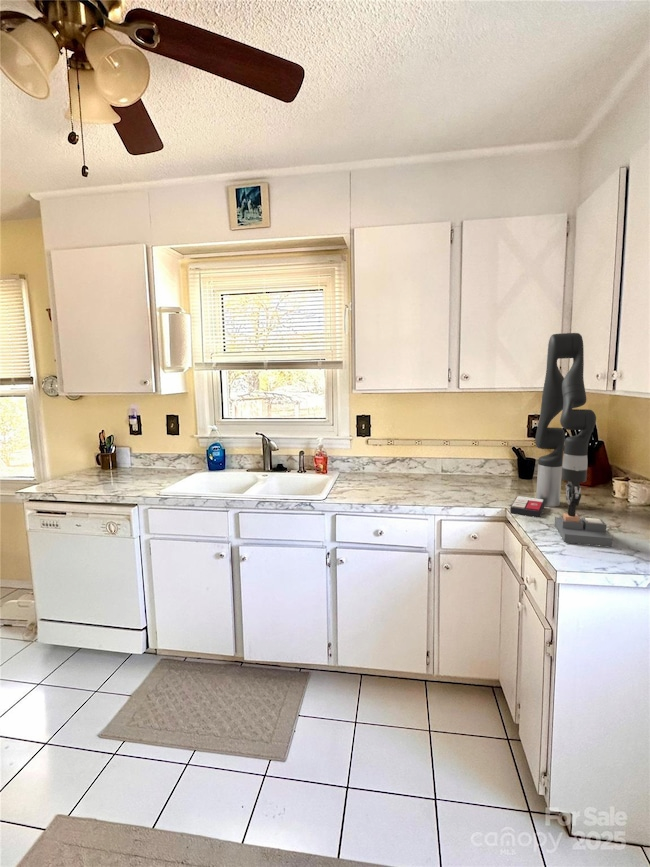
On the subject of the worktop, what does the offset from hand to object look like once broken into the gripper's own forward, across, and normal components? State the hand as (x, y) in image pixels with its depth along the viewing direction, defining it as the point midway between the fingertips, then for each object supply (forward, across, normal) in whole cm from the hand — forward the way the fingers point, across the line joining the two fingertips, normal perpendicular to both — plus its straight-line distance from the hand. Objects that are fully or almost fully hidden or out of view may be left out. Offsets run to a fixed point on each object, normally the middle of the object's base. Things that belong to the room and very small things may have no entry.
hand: (571, 515), depth 156 cm
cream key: (+4, 0, +7) cm, 8 cm away
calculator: (+8, -25, -11) cm, 29 cm away
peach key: (+3, 0, 0) cm, 3 cm away
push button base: (+7, 0, +4) cm, 8 cm away
